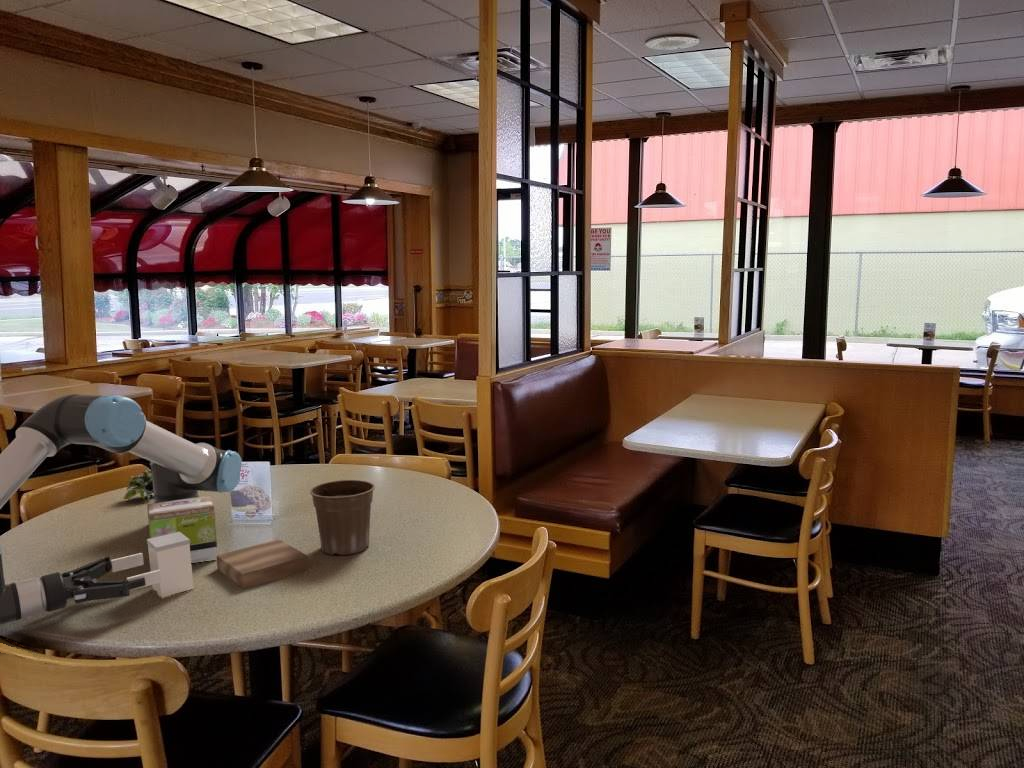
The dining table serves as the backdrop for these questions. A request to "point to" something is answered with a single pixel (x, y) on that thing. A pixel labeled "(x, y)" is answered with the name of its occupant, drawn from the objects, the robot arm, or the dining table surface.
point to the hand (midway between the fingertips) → (151, 566)
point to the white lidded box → (171, 563)
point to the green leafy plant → (140, 485)
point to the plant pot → (343, 515)
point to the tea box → (187, 524)
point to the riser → (262, 563)
